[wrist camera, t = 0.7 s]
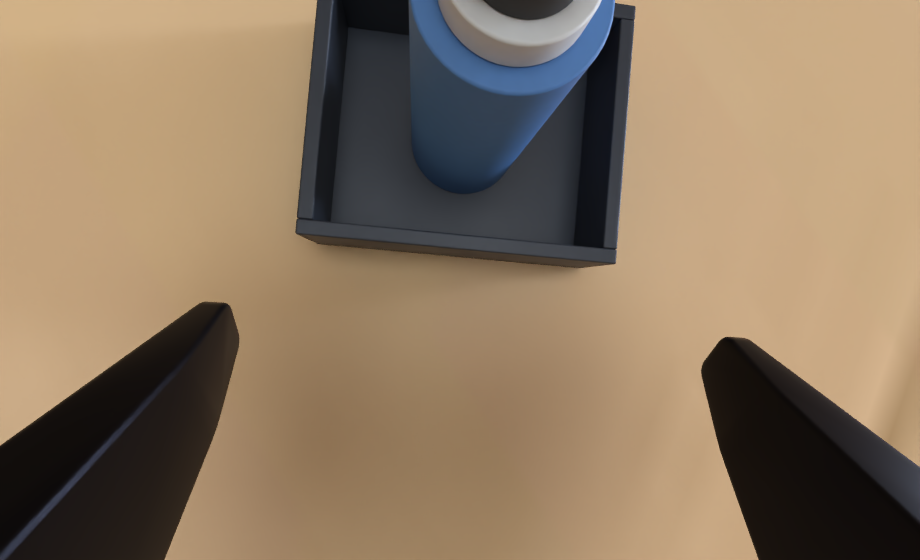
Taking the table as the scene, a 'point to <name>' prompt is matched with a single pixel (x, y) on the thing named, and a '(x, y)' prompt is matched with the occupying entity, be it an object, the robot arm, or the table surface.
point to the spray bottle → (493, 79)
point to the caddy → (419, 200)
